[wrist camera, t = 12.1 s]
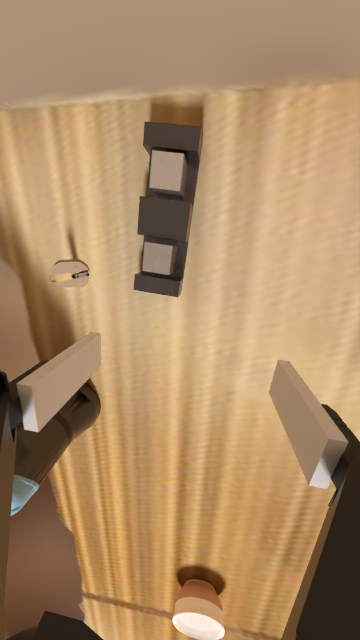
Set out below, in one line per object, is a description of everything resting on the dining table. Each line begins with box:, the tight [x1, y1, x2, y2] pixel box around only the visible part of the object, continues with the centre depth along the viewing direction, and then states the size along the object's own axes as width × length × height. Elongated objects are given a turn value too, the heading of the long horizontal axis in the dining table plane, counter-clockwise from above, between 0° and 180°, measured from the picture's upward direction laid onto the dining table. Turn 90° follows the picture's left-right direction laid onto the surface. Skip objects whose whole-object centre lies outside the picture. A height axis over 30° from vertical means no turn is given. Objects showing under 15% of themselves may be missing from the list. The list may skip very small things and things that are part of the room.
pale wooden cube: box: [149, 150, 188, 199], centre depth 32 cm, size 4×4×5 cm
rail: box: [134, 122, 203, 297], centre depth 35 cm, size 8×24×4 cm, turn 172°
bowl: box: [173, 579, 225, 640], centre depth 68 cm, size 16×16×8 cm
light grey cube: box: [142, 242, 177, 275], centre depth 36 cm, size 4×4×5 cm
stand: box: [50, 261, 91, 287], centre depth 39 cm, size 8×5×8 cm
